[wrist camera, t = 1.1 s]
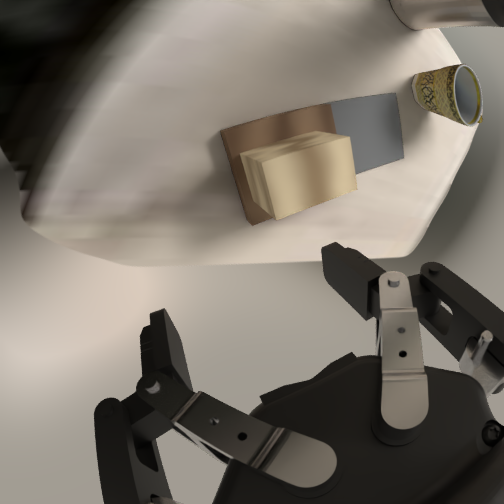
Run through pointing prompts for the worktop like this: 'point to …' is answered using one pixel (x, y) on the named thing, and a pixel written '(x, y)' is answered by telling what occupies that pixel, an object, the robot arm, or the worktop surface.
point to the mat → (370, 129)
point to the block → (300, 172)
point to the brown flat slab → (267, 133)
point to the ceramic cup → (450, 93)
